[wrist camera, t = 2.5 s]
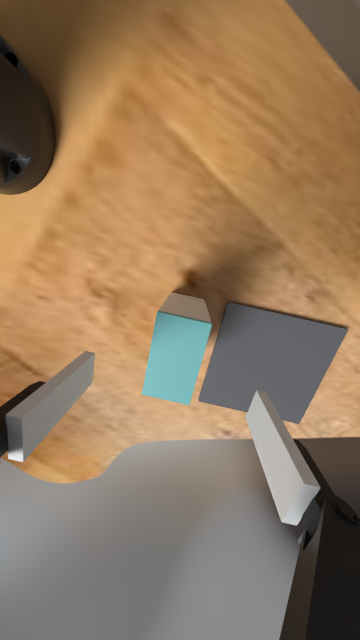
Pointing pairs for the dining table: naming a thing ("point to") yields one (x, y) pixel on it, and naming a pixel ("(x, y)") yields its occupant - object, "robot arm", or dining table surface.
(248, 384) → the rubber mat
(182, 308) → the grey teal block
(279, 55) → the dining table surface
